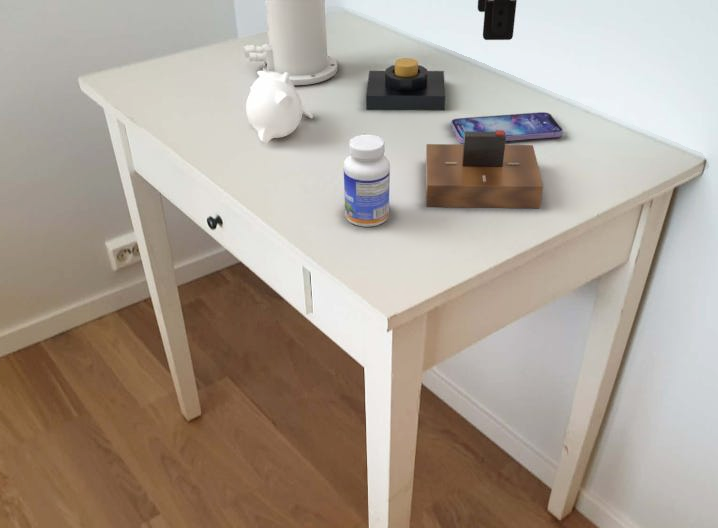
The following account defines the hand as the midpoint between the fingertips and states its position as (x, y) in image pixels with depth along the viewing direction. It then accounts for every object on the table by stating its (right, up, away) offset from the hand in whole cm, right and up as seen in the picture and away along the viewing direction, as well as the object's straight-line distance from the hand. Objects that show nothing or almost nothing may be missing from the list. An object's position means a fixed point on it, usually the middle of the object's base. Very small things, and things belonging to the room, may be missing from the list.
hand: (494, 24), depth 83 cm
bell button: (-8, +6, +30) cm, 32 cm away
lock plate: (0, -16, +11) cm, 19 cm away
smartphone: (+6, -5, +23) cm, 24 cm away
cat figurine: (-27, -4, +24) cm, 37 cm away
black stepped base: (-8, +3, +32) cm, 34 cm away
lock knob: (0, -13, +9) cm, 16 cm away
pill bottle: (-14, -21, +6) cm, 26 cm away
